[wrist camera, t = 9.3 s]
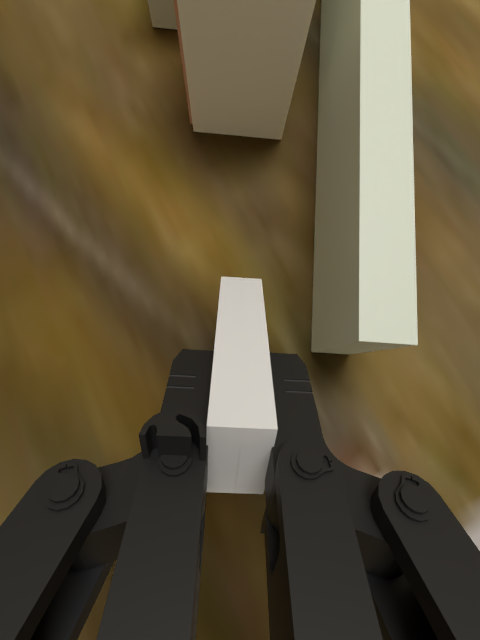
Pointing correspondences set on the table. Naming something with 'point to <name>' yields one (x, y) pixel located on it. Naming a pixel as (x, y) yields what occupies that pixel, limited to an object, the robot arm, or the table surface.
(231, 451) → the robot arm
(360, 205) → the white u-shaped frame
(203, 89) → the book
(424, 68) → the table surface
